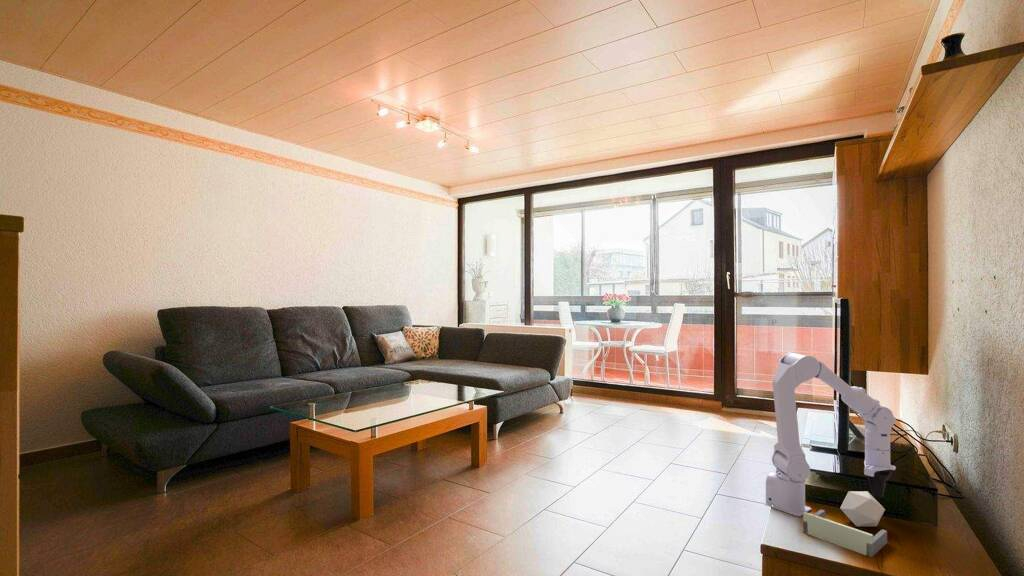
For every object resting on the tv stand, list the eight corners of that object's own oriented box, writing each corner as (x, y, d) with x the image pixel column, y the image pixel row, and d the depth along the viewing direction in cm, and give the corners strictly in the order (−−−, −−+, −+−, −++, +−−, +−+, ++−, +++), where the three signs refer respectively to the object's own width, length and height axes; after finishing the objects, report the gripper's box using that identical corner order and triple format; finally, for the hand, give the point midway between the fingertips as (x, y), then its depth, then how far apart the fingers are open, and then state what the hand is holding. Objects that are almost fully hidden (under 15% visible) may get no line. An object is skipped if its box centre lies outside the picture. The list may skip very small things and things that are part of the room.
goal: (803, 532, 124) (803, 512, 124) (820, 520, 131) (820, 501, 131) (871, 557, 112) (871, 535, 112) (887, 543, 119) (887, 522, 119)
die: (885, 538, 123) (896, 501, 126) (850, 517, 124) (862, 482, 127) (862, 534, 131) (872, 500, 134) (829, 515, 132) (841, 481, 135)
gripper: (886, 456, 129) (886, 507, 129) (903, 446, 138) (903, 494, 137) (855, 449, 134) (855, 498, 134) (873, 440, 143) (873, 486, 143)
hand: (877, 495), depth 136 cm, fingers closed
